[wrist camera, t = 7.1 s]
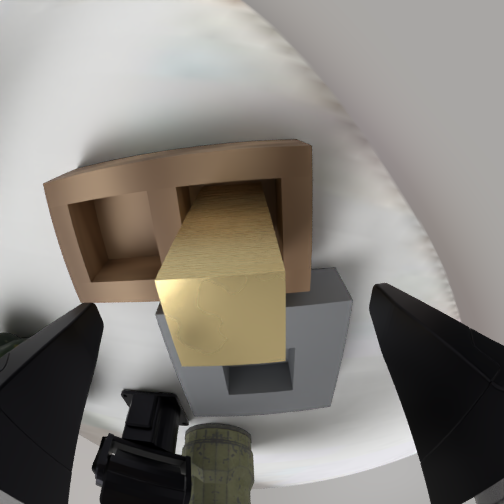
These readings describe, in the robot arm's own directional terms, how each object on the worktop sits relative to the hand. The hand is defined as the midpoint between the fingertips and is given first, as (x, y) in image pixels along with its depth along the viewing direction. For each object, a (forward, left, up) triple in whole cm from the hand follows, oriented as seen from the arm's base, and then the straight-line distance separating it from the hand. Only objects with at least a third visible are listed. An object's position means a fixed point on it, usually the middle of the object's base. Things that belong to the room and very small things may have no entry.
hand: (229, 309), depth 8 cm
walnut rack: (0, +3, -10) cm, 11 cm away
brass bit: (0, 0, -9) cm, 9 cm away
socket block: (-11, -1, -10) cm, 15 cm away
